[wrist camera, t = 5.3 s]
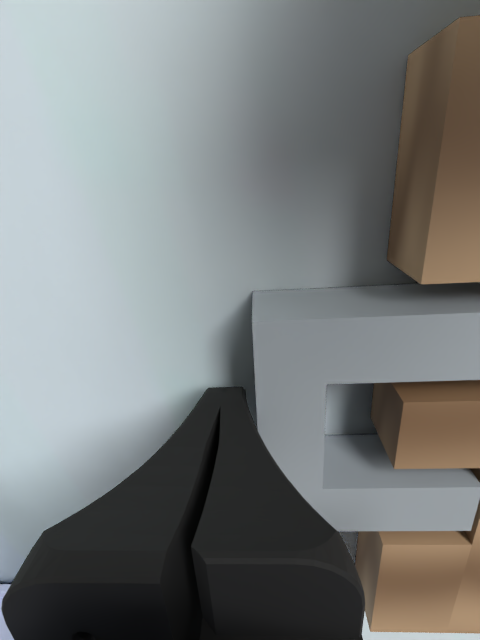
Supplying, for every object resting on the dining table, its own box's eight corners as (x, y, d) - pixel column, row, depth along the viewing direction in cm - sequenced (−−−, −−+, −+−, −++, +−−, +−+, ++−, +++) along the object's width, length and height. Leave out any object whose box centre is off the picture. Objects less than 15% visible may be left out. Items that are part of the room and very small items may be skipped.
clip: (436, 472, 14) (470, 530, 12) (261, 474, 15) (262, 531, 12) (475, 280, 11) (532, 310, 9) (252, 291, 12) (251, 321, 9)
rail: (453, 568, 17) (485, 633, 14) (354, 568, 17) (370, 631, 15) (596, 39, 9) (718, -6, 6) (407, 55, 9) (460, 16, 7)
